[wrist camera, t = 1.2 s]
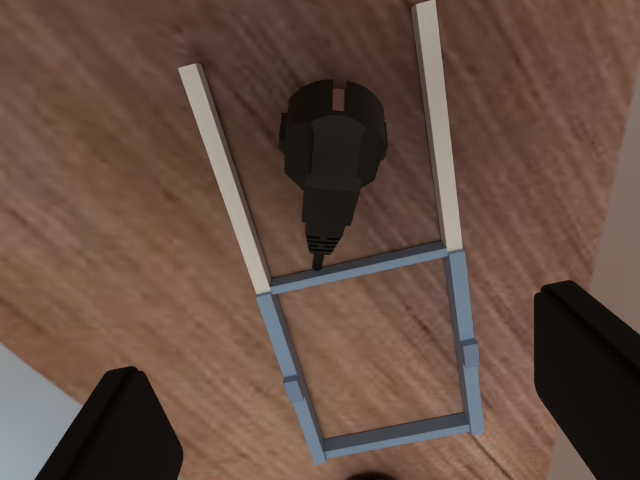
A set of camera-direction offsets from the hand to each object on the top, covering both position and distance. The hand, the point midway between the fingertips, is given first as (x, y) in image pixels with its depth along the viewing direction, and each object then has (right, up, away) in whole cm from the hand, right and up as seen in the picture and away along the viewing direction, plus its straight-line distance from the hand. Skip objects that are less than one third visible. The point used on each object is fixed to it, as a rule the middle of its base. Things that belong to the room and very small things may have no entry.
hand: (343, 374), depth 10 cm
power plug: (0, +7, +16) cm, 18 cm away
